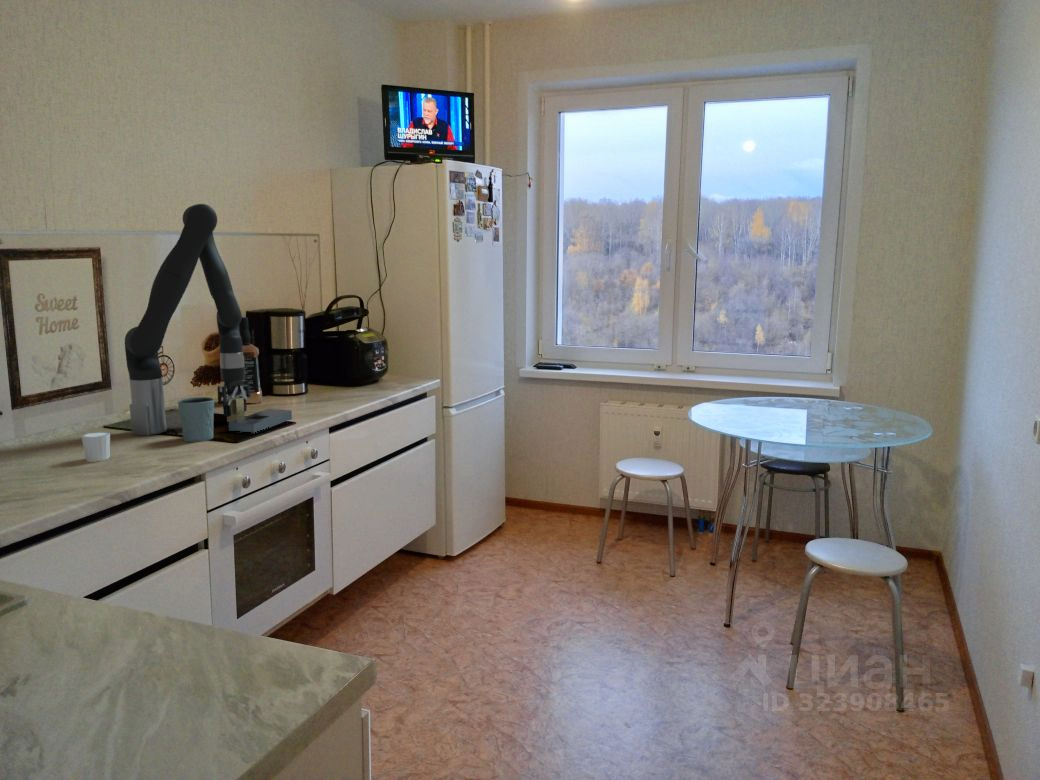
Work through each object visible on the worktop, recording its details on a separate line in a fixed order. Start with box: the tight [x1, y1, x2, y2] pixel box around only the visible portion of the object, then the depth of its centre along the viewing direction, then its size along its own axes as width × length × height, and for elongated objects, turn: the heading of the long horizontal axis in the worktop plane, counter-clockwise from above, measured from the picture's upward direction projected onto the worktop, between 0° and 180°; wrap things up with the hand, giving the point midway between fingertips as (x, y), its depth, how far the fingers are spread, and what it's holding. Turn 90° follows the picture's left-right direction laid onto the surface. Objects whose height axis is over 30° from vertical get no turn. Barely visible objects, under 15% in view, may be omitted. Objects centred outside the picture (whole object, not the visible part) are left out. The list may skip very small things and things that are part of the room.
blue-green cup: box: [177, 396, 215, 443], centre depth 236 cm, size 10×10×12 cm
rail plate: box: [228, 408, 293, 434], centre depth 255 cm, size 22×9×3 cm, turn 165°
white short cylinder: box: [81, 431, 111, 463], centre depth 213 cm, size 7×7×7 cm
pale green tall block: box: [226, 397, 246, 423], centre depth 259 cm, size 4×4×8 cm
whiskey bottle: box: [236, 316, 263, 404], centre depth 292 cm, size 10×10×32 cm
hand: (235, 413), depth 259 cm, fingers open, 8 cm apart
